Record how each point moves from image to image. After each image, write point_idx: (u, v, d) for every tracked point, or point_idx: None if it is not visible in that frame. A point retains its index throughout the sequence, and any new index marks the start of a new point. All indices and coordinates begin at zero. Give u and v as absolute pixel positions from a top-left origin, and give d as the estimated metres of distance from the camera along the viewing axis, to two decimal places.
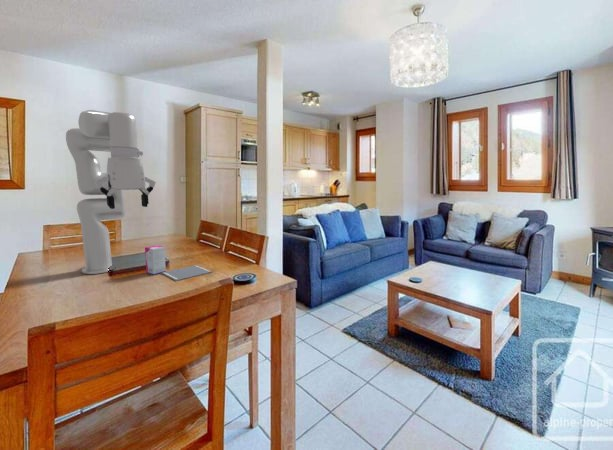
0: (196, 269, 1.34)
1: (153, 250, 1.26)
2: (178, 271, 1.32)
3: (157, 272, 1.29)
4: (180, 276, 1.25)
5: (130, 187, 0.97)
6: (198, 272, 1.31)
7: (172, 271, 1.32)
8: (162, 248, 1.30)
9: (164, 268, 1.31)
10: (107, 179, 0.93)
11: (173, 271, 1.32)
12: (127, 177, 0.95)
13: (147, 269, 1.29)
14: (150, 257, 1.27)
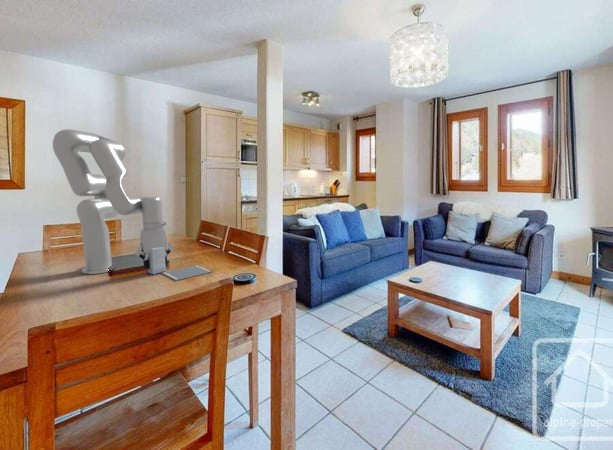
0: (196, 269, 1.34)
1: (153, 250, 1.26)
2: (178, 271, 1.32)
3: (157, 272, 1.29)
4: (180, 276, 1.25)
5: None
6: (198, 272, 1.31)
7: (172, 271, 1.32)
8: (162, 248, 1.30)
9: (164, 268, 1.31)
10: (142, 247, 1.25)
11: (173, 271, 1.32)
12: (155, 244, 1.27)
13: (147, 269, 1.29)
14: (150, 257, 1.27)
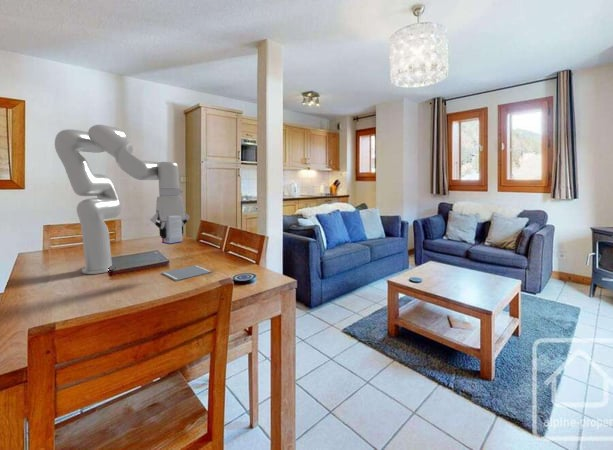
0: (196, 269, 1.34)
1: (170, 218, 1.20)
2: (178, 271, 1.32)
3: (174, 241, 1.22)
4: (180, 276, 1.25)
5: None
6: (198, 272, 1.31)
7: (172, 271, 1.32)
8: (179, 216, 1.23)
9: (181, 238, 1.25)
10: (158, 215, 1.19)
11: (173, 271, 1.32)
12: (171, 212, 1.21)
13: (163, 238, 1.23)
14: (167, 226, 1.21)
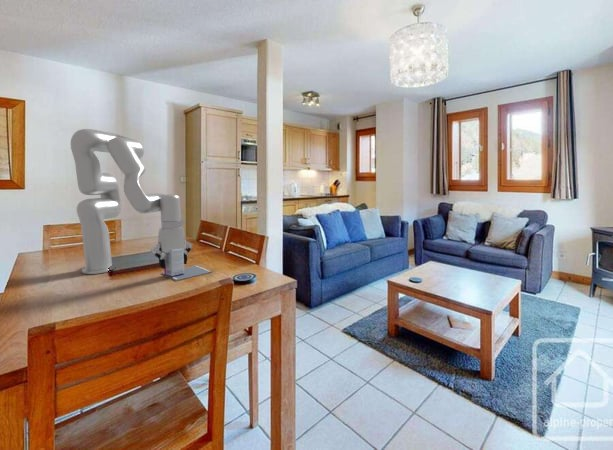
0: (196, 269, 1.34)
1: (172, 251, 1.22)
2: None
3: (175, 274, 1.24)
4: (180, 276, 1.25)
5: None
6: (198, 272, 1.31)
7: None
8: (181, 249, 1.26)
9: (183, 271, 1.27)
10: (159, 246, 1.21)
11: None
12: (173, 243, 1.23)
13: (165, 271, 1.25)
14: (169, 259, 1.23)
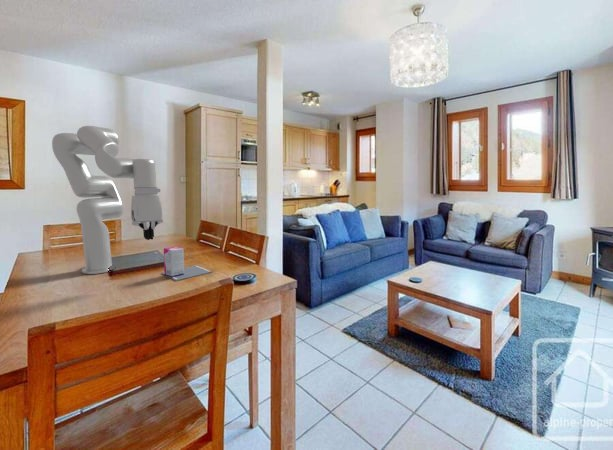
0: (196, 269, 1.34)
1: (172, 251, 1.22)
2: None
3: (175, 274, 1.24)
4: (180, 276, 1.25)
5: (150, 219, 1.15)
6: (198, 272, 1.31)
7: None
8: (181, 249, 1.26)
9: (183, 271, 1.27)
10: None
11: None
12: (147, 212, 1.14)
13: (165, 271, 1.25)
14: (169, 259, 1.23)
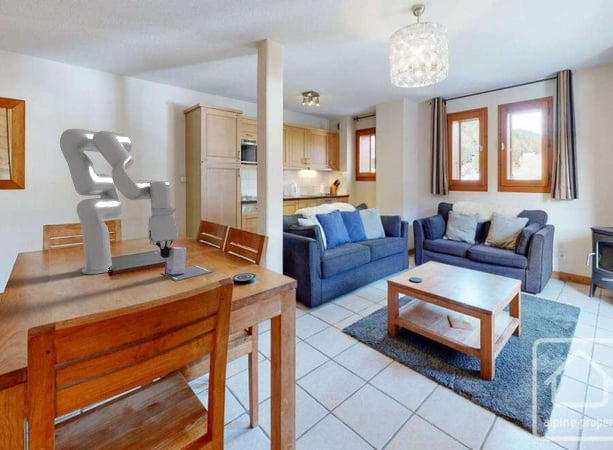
0: (196, 269, 1.34)
1: (175, 249, 1.23)
2: None
3: (176, 273, 1.24)
4: (180, 276, 1.25)
5: (166, 239, 1.21)
6: (198, 272, 1.31)
7: None
8: (184, 249, 1.27)
9: (183, 270, 1.27)
10: None
11: None
12: (164, 231, 1.20)
13: (166, 269, 1.25)
14: (171, 257, 1.24)
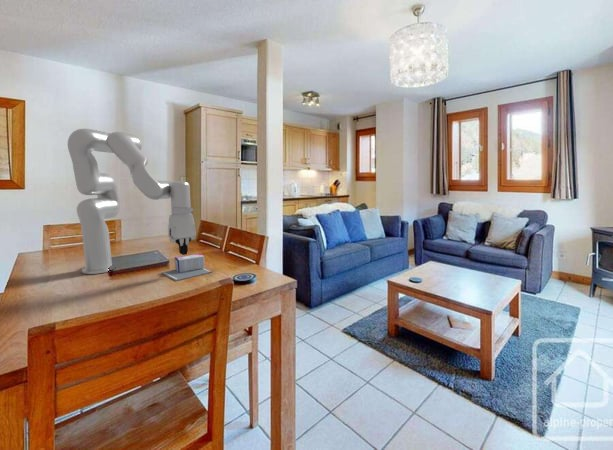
0: (196, 269, 1.34)
1: (202, 257, 1.35)
2: None
3: (179, 263, 1.30)
4: (180, 276, 1.25)
5: (185, 236, 1.27)
6: (198, 272, 1.31)
7: (172, 271, 1.32)
8: (203, 266, 1.36)
9: (182, 270, 1.31)
10: None
11: (173, 271, 1.32)
12: (183, 229, 1.25)
13: (179, 257, 1.34)
14: (194, 256, 1.34)
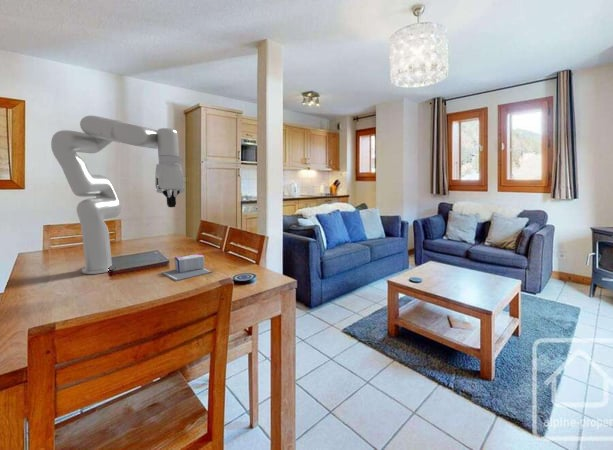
0: (196, 269, 1.34)
1: (202, 257, 1.35)
2: None
3: (179, 263, 1.30)
4: (180, 276, 1.25)
5: (173, 187, 1.21)
6: (198, 272, 1.31)
7: (172, 271, 1.32)
8: (203, 266, 1.36)
9: (182, 270, 1.31)
10: None
11: (173, 271, 1.32)
12: (171, 180, 1.19)
13: (179, 257, 1.34)
14: (194, 256, 1.34)
